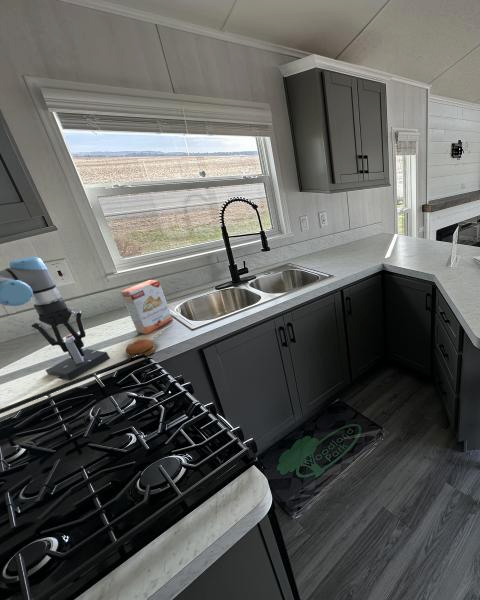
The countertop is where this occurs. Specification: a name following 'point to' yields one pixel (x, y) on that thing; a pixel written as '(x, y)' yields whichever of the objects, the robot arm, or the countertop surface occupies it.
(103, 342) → the countertop surface
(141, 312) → the cracker box
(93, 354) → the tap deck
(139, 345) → the burger
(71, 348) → the tap handle
